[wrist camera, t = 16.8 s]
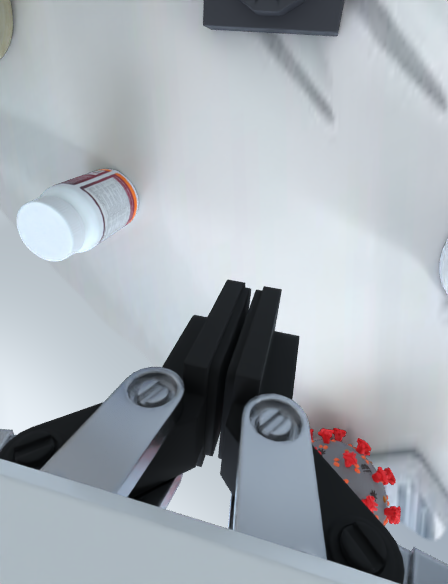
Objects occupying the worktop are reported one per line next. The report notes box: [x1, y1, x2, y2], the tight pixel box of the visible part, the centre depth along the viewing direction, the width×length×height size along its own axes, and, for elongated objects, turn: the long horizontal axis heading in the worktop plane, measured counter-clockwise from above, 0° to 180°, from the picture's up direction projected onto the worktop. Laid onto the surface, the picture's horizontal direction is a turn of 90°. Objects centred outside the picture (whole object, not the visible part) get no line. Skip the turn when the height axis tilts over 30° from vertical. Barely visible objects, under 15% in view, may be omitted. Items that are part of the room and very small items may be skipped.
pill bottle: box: [17, 169, 139, 261], centre depth 33 cm, size 6×6×11 cm
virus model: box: [310, 428, 401, 526], centre depth 41 cm, size 14×15×15 cm
